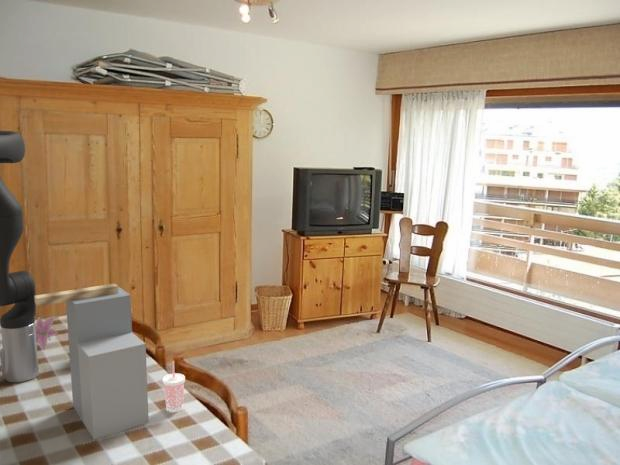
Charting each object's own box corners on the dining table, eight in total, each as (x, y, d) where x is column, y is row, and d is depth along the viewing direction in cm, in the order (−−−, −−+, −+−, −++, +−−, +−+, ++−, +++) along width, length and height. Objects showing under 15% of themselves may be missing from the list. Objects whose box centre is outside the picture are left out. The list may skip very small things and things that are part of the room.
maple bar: (37, 306, 132) (36, 298, 131) (34, 303, 134) (34, 295, 134) (118, 293, 144) (118, 286, 143) (115, 290, 146) (114, 283, 146)
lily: (23, 344, 193) (14, 327, 187) (53, 324, 200) (45, 307, 194) (41, 361, 187) (32, 344, 181) (71, 341, 194) (63, 323, 188)
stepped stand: (93, 439, 132) (86, 315, 126) (73, 406, 148) (65, 294, 142) (148, 422, 140) (143, 304, 135) (123, 392, 156) (118, 286, 150)
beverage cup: (166, 415, 144) (164, 367, 141) (161, 405, 149) (159, 358, 147) (188, 410, 147) (187, 363, 144) (182, 400, 152) (181, 355, 149)
